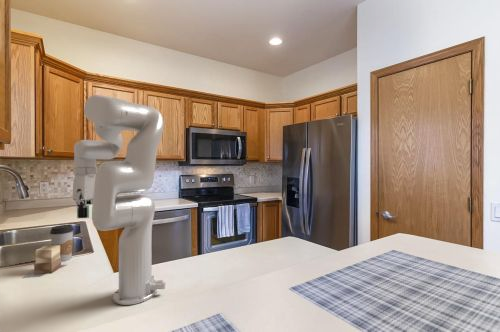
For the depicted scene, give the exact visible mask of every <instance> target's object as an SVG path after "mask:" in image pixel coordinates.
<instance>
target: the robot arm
mask: <svg viewBox="0 0 500 332" xmlns="http://www.w3.org/2000/svg"><path fill="white" fill-rule="evenodd" d="M83 112H84V113H83V114H84V116H85V117H86V119H87V120H88V121H89V122H91V123H93V124H94V125H93V127H94V128H93V130H94V133H95V134H96V135H97V136H98V137H99V138H100V139H101V140H95V139H93V140H92V139H81V140H79V141H78V142H75V143H74V146H73V152H74V153H73V154H74V155H73V160H74V161H73V163H74V166H73V167H74V170H73V172H74V178H73V181H72V182H73V183H72V200H73V201H74V202H75V204H76V209H77V208H78V218H77V219H87V218H86V217H87V208H86V204H93V206H92V217H91V221H92V224H93V226H94V227H95V228H94V229H96V230H98V231H102V232H103V231H104V232H106V231H113V230H118V229H122V228H124V229H123V230H122V231H121V233H120V236H119V238H118V289H117V290H115V291H114V292H113V295H112V301H113V302H114V303H115V304H118V305H122V306H128V305H129V306H131V305H137V304H141V303H143V301H144V302H146V301H149V300H150V299H152V298H153V297H154V296H155V295H156V294H157V291H158V290H165V289H166V282H165V281H164V280H163V279H159V280H156V279H155V275H152V273H153V271H152V268H153V267H152V265H153V264H152V260H153V259H152V258H153V257H152V242H153V241H152V240H153V239H152V237H153V236H152V235H153V234H152V231H153V221H154V217H155V213H156V212H155V211H156V210H155V209H156V205H155V202H154V200H153V199H152V197H151V196H149V195H146V194H139V192H145V191H148V190H150V189H151V187H152V185H153V183H154V179H155V171H156V162H157V152H158V148H159V144H160V142H161V140H162V136H163V134H164V123H165V122H164V118H163V115H162V114H161V112H160V111H159V110H158V109H157V108H155V107H152V106H148V105H145V104H141V103H135V102H130V101H127V100H124V99H121V98H117V97H116V98H115V97H110V96H105V95H101V94H92V95H91V96H89V97H88V98H87V100H86V101H85V103H84V107H83ZM124 131H129V132H130V131H132V132H137V133H136V134H135V135H134V136H133V137H132V138H131V139H130V140H129V141H128V143H127V146H126V155H125V159H124V160H113V159H114V158H116V157H117V156H118V155H119V153H120V152H121V151H122V148H123V144H124V143H123V142H124V140H123V139H124V138H123V136H122V133H123V132H124ZM97 160H108V161H104V162H102V163H101V164H100V165H99V166H98V168H97ZM130 193H131V194H130ZM132 193H138V194H132ZM119 194H125V195H119ZM127 194H128V195H127ZM140 302H141V303H140Z"/></svg>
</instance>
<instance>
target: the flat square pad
mask: <svg viewBox="0 0 500 332" xmlns="http://www.w3.org/2000/svg"><path fill="white" fill-rule="evenodd" d="M66 266H67V264H61V268H64V267H66ZM61 268H60V269H61ZM45 275H46V274H34V270H33V271H31V272H30V273H28V274H26V275H24V276H22V277H21V279H29V278H41V277H43V276H45Z"/></svg>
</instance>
